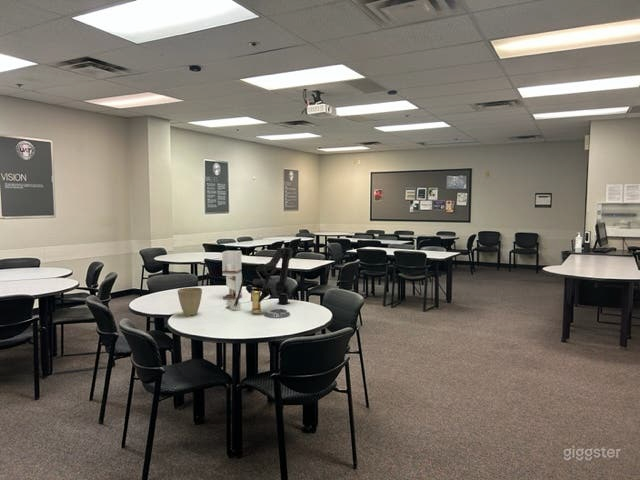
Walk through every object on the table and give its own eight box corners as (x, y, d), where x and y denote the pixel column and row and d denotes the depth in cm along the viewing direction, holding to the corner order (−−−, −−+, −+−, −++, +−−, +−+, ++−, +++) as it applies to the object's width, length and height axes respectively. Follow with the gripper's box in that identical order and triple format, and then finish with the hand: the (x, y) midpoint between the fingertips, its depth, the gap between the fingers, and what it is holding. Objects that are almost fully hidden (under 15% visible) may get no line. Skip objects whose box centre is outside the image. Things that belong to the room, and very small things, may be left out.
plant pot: (181, 312, 290) (180, 287, 289) (204, 311, 291) (204, 287, 290) (175, 317, 275) (174, 292, 274) (200, 317, 276) (199, 291, 275)
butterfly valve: (223, 305, 307) (228, 308, 291) (232, 277, 310) (236, 278, 293) (235, 308, 310) (240, 312, 294) (244, 280, 313) (249, 282, 296)
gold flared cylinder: (256, 309, 289) (256, 289, 288) (263, 311, 285) (263, 290, 284) (249, 311, 284) (249, 291, 283) (256, 312, 281) (256, 292, 280)
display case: (228, 296, 340) (227, 250, 338) (241, 297, 339) (241, 250, 336) (222, 299, 329) (222, 252, 327) (236, 300, 328) (236, 252, 325)
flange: (266, 311, 291) (266, 308, 291) (291, 312, 290) (291, 308, 290) (262, 317, 275) (262, 313, 275) (288, 318, 274) (288, 314, 274)
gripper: (247, 272, 290) (237, 292, 281) (272, 274, 283) (263, 295, 274) (253, 283, 298) (244, 302, 289) (278, 285, 291) (269, 305, 281)
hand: (255, 301), depth 283 cm, fingers closed on gold flared cylinder, 5 cm apart
